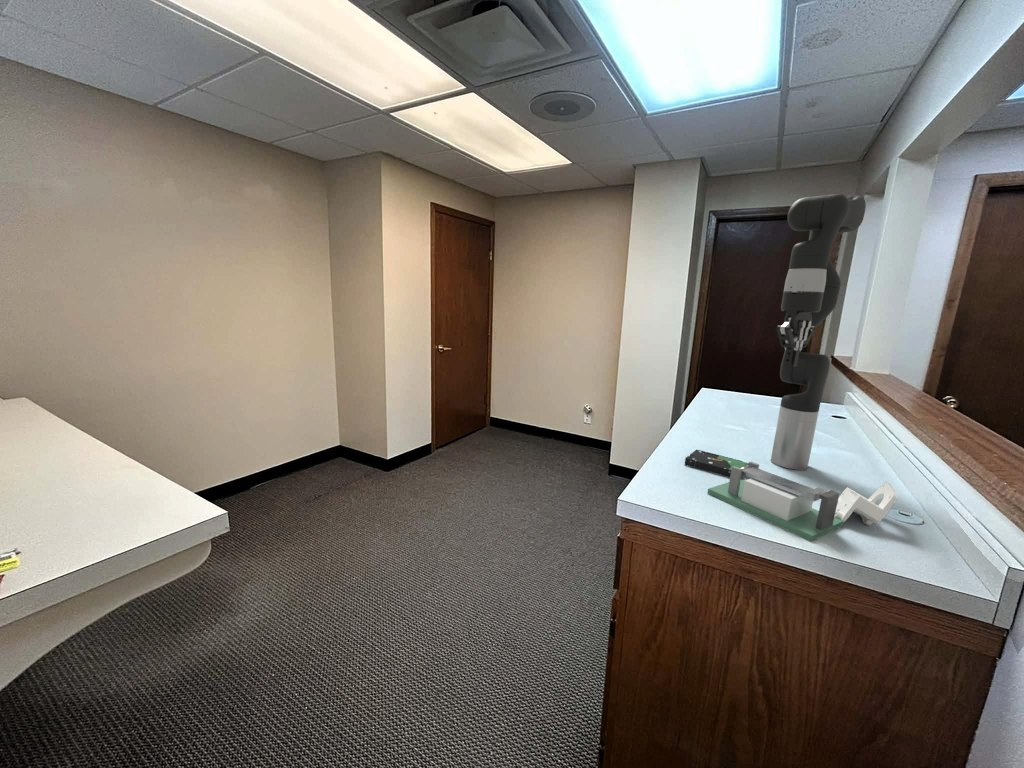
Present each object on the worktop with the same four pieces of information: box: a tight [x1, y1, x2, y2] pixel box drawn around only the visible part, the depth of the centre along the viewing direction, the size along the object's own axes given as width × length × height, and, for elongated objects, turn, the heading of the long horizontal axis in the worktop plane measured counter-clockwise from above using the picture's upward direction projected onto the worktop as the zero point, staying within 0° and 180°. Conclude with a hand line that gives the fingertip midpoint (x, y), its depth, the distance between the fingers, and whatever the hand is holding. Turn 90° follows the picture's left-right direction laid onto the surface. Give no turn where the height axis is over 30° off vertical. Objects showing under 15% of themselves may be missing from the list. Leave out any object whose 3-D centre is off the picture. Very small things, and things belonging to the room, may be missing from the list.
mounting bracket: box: [834, 481, 899, 526], centre depth 91 cm, size 12×6×11 cm, turn 147°
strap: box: [741, 465, 828, 503], centre depth 93 cm, size 5×17×2 cm, turn 30°
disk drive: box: [684, 449, 749, 480], centre depth 118 cm, size 10×3×15 cm
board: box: [707, 461, 844, 542], centre depth 94 cm, size 13×23×8 cm, turn 30°
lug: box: [816, 489, 840, 530], centre depth 85 cm, size 5×2×7 cm, turn 120°
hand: (790, 366), depth 97 cm, fingers closed
